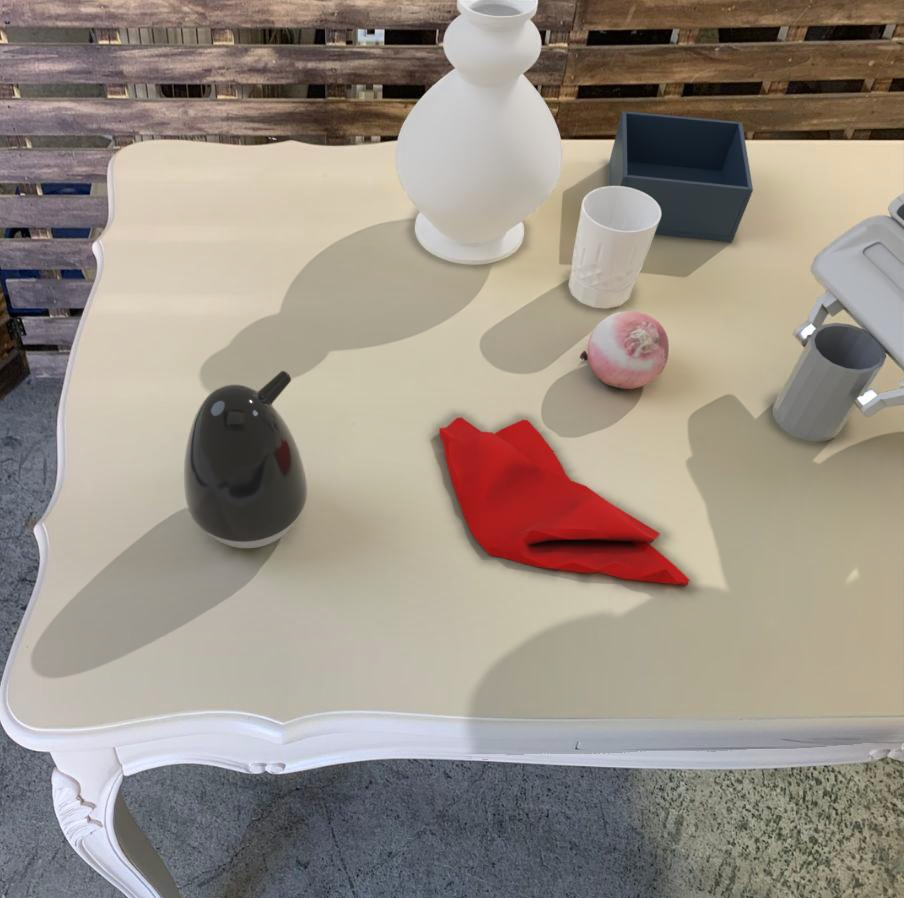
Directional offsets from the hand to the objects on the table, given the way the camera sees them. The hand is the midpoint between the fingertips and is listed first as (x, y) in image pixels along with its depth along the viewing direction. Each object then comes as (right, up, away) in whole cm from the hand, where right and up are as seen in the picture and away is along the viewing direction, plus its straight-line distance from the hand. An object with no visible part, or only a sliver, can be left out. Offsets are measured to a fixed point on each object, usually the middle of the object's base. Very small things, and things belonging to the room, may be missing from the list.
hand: (828, 374), depth 82 cm
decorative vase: (-30, +21, +22) cm, 43 cm away
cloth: (-27, -13, -2) cm, 30 cm away
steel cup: (0, -3, +5) cm, 6 cm away
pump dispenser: (-52, -13, -3) cm, 54 cm away
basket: (-6, +25, +25) cm, 36 cm away
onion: (-17, +1, +8) cm, 19 cm away
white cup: (-17, +12, +16) cm, 26 cm away
